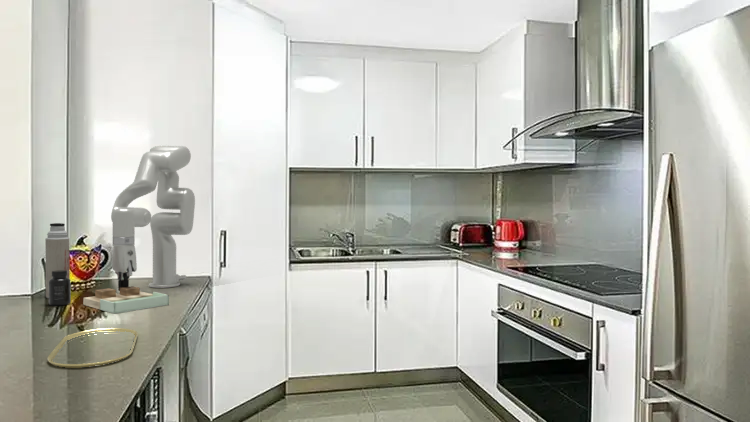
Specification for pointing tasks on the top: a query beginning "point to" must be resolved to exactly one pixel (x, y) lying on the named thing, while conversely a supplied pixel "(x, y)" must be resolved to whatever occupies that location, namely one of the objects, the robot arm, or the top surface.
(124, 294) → the walnut tile
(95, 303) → the maple board
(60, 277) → the supplement bottle
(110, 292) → the walnut tile
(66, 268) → the thermos bottle
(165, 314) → the top surface
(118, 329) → the serving platter
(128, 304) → the tray
